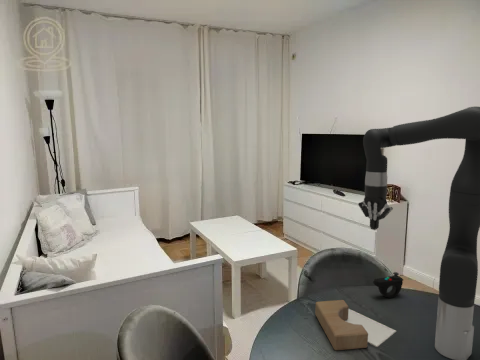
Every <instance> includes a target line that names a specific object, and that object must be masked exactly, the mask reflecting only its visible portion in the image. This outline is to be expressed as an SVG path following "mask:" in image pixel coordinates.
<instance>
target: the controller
mask: <svg viewBox="0 0 480 360" xmlns="http://www.w3.org/2000/svg"><path fill="white" fill-rule="evenodd" d="M399 275H400V273H399V272H396V271H394V272H393V275H391V276H386V277H379V278H375V279H374V280H373V282H372V283H373V285H374V286H376V287H378V288H377V289H378V291H379V293H380V294H381V295H382V296H384V297H386V298H388V299H389V298H391V299H392V298H395V297H397V296H398V295H399V294H400V292H401V290H402V287H403V283H404V282H403V281H404V279H403V277H401V276H399ZM390 287H391V290H390V291H388V289H389V288H390Z"/></svg>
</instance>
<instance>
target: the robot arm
mask: <svg viewBox="0 0 480 360" xmlns="http://www.w3.org/2000/svg"><path fill="white" fill-rule="evenodd" d="M362 139H363V140H362V145H363V149H364V154H365V158H366V166H365V167H366V168H365V170H366V171H365V178H364V198H363V200H362V201H361V202H358V206H359V208H360V210H361V212H362V213H363V214H364V217H367V218H368V219H369V228H370V229H371V230H374V231H375V230H377V229H379V226H380V225H379V224H380V220H383V219H385V218H386V217H387V216H388V215H389V214H390V213H391V212H392V211H393V209H394V207H392V206H389V204H388V201H387V197H388V196H387V193H388V192H387V191H388V158H387V156H386V155H383V154H382V149H384V148H386V149H387V148H391V147H396V146H406V145H413V144H414V145H416V144H420V143H425V142H429V141H433V140H434V141H435V140H442V139H449V140H450V139H451V140H452V139H456V140H465V143H464V151H463V157H462V158H461V162H460V163H459V166H458V168H457V170H456V172H455V174H454V176H453V178H452V180H451V183H450V187H449V188H450V190H449V198H448V221H449V230H448V237H447V241H446V244H445V249H444V252H443V255H442V257H441V262H440V267H439V270H440V271H439V282H438V283H439V285H438V298H437V299H438V300H437V314H436V324H435V325H436V327H435V336H434V337H435V339H434V349H435V350H436V351H437V352H438V353H439V354H440V355H441V356H443V357H446V358H448V359H451V360H468V359H469V357H471V355H472V354H473V352H472V351H473V344H474V332H475V331H474V330H475V325H473V318H474V309H475V301H476V300H475V299H476V292H477V286H478V285H477V283H478V277H479V276H478V274H479V266H478V265H479V264H478V236H479V231H480V106H470V107H466V108H463V109H461V110H457V111H455V112H452V113H450V114H447V115H444V116H440V117H437V118H433V119H426V120H421V121H420V120H418V121H413V122H412V121H411V122H407V123H403V124H402V123H399V124H397V125H393V126H392V127H391V126H390V127H385V128H370V129H368V130H367V131H365V133H364V136H363V138H362ZM382 210H383V212H382Z"/></svg>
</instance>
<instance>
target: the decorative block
mask: <svg viewBox="0 0 480 360" xmlns="http://www.w3.org/2000/svg"><path fill="white" fill-rule="evenodd" d="M314 307H315V309H314V310H315V313H314V314H315V317H316V318H317V320H318V322H319V324H320V326H321V327H322V329H323V331H324V333H325V335H326V336H327V338H328V341H329V342H330V344H331V346H332V348H333V350H334V351H343V350H345V351H346V350H355V349H356V350H358V349H366V348H368V344H369V343H368V333H367V331H366V330H365V328H364V327H363V326H362V325H359V324H352V323H348V322H346V321H344V320H347V319H348V309H350V308H349V307H350V306H349V305H348V303H346V301H345V300H344V299H338V300H337V299H335V300H325V301H324V300H323V301H316V302H315V306H314Z"/></svg>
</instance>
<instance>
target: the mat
mask: <svg viewBox="0 0 480 360" xmlns="http://www.w3.org/2000/svg"><path fill="white" fill-rule="evenodd" d="M344 321H346V322H348V323H352V324H359V325H362V326H363V327H364V328H365V330H366V331H367V333H368V344H370V345H371V346H373V347H376V348H378V347H379V346H380V345H382V344H383V343H384V342H386V341H387V340H389V338H391V337H392V336H393V335H394V334H395V333H397V330H395V329H394V328H391V327H389V326H387V325H384V324H383V323H380V322H378V321H376V320H375V319H372V318H369V317H368V316H365V315H363V314H362V313H358V312H357V311H355V310H352V309H350V308H349V309H348V319H347V320H344Z"/></svg>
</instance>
